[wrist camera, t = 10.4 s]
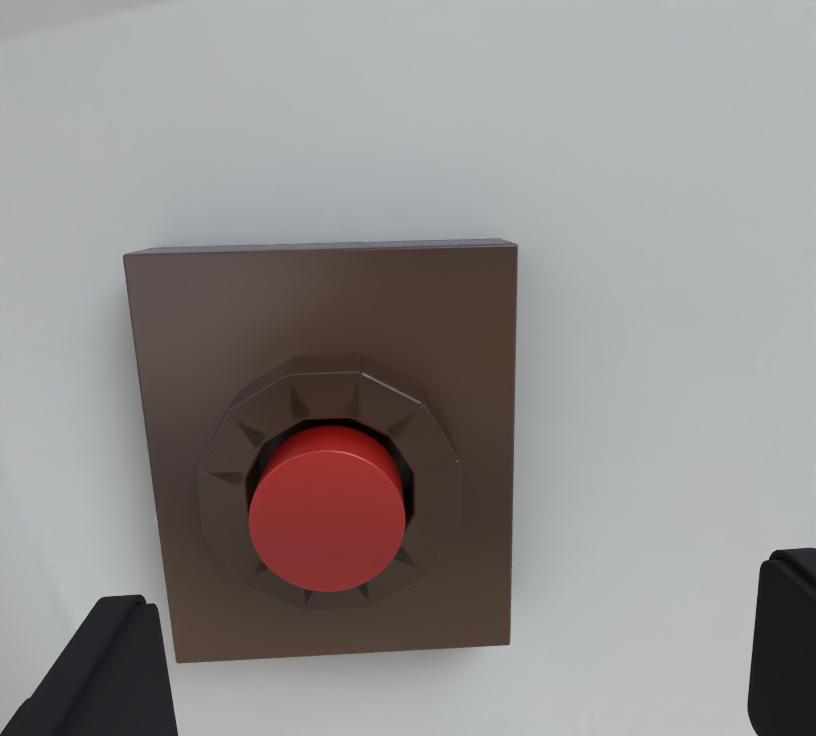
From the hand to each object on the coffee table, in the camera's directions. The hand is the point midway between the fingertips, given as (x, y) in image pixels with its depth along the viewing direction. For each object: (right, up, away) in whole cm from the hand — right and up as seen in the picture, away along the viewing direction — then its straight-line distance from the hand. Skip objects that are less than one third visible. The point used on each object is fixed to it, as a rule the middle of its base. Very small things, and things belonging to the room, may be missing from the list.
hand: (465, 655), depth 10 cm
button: (-3, +1, +7) cm, 7 cm away
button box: (-3, +2, +10) cm, 11 cm away
